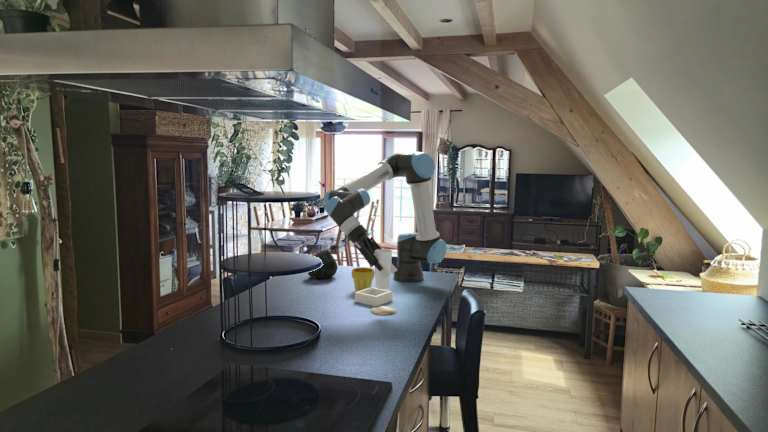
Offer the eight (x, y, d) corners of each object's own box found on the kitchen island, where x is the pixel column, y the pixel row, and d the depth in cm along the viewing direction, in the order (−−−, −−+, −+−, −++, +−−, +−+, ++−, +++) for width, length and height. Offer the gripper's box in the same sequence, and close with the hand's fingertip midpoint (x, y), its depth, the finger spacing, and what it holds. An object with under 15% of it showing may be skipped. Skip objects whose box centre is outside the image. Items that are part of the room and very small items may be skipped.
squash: (299, 265, 258) (310, 246, 250) (325, 263, 268) (335, 244, 259) (309, 287, 251) (320, 269, 242) (335, 284, 260) (346, 266, 251)
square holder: (371, 295, 223) (371, 286, 222) (392, 300, 216) (392, 291, 216) (354, 301, 214) (354, 292, 213) (376, 306, 207) (376, 296, 207)
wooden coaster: (381, 306, 208) (381, 304, 208) (401, 310, 202) (401, 309, 202) (366, 311, 200) (366, 310, 200) (386, 316, 194) (386, 315, 194)
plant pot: (373, 294, 226) (373, 272, 225) (350, 293, 226) (350, 272, 225) (374, 288, 236) (374, 267, 235) (352, 287, 237) (352, 267, 235)
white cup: (376, 290, 195) (377, 252, 193) (371, 286, 201) (372, 249, 200) (393, 289, 197) (394, 251, 195) (387, 285, 203) (388, 248, 202)
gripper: (358, 232, 212) (393, 274, 208) (336, 239, 193) (375, 285, 189) (369, 221, 209) (406, 263, 205) (349, 226, 191) (388, 273, 187)
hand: (391, 273), depth 197 cm, fingers closed on white cup, 7 cm apart
